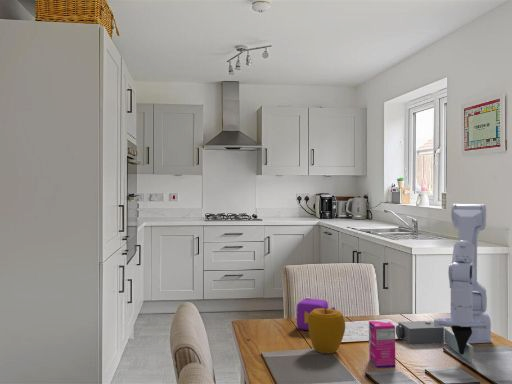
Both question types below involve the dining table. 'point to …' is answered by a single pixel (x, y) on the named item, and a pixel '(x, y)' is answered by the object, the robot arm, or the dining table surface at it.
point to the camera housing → (420, 332)
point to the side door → (451, 341)
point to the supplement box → (382, 344)
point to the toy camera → (308, 310)
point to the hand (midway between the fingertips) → (461, 353)
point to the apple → (326, 329)
